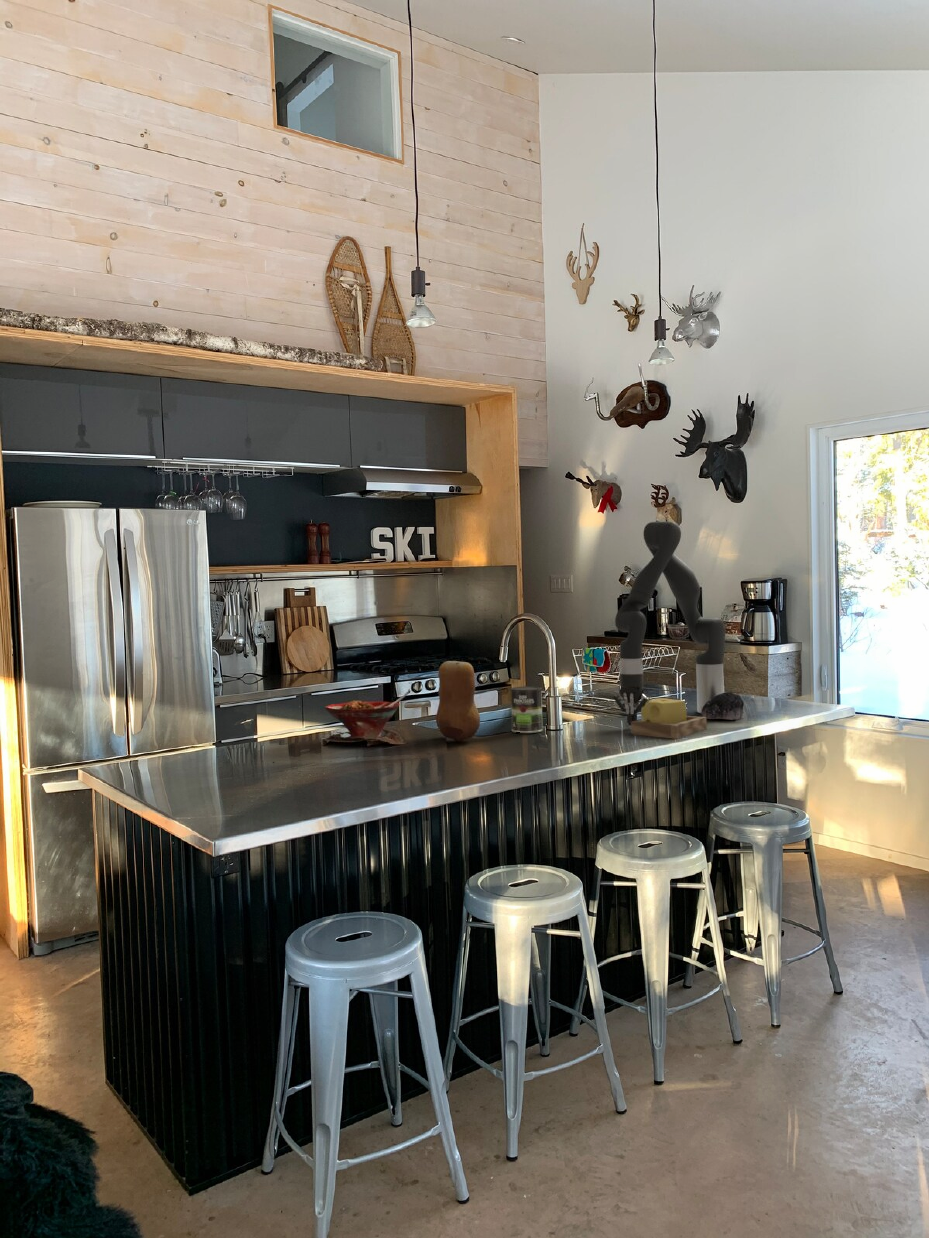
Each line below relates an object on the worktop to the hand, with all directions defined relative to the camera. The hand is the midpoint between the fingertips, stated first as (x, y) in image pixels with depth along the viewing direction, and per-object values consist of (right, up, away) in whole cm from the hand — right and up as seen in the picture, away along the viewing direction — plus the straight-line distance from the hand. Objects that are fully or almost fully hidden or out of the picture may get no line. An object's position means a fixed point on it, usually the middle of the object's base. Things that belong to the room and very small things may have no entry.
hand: (632, 725), depth 310 cm
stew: (-85, -5, -8) cm, 85 cm away
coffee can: (-34, -2, +4) cm, 34 cm away
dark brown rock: (+33, 0, +11) cm, 34 cm away
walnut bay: (+10, -1, -8) cm, 13 cm away
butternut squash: (-56, -4, -10) cm, 57 cm away
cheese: (+9, -1, -7) cm, 11 cm away
